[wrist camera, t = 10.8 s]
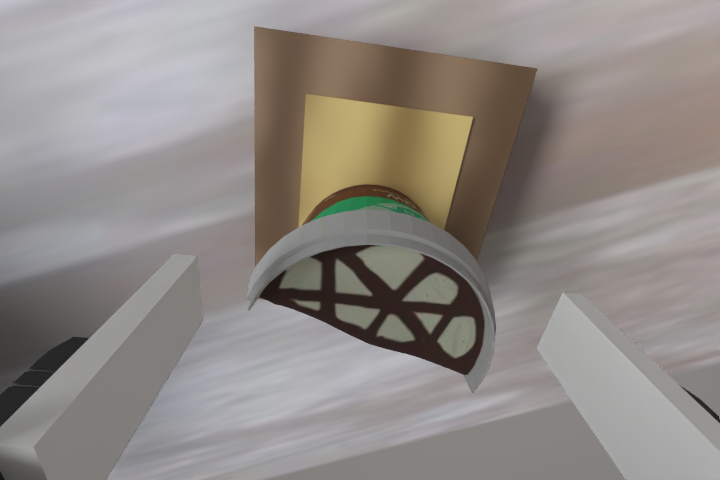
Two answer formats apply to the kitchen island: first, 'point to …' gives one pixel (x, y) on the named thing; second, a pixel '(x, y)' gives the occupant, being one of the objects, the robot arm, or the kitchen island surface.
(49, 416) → the robot arm
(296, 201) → the plate
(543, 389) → the kitchen island surface
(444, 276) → the food container
